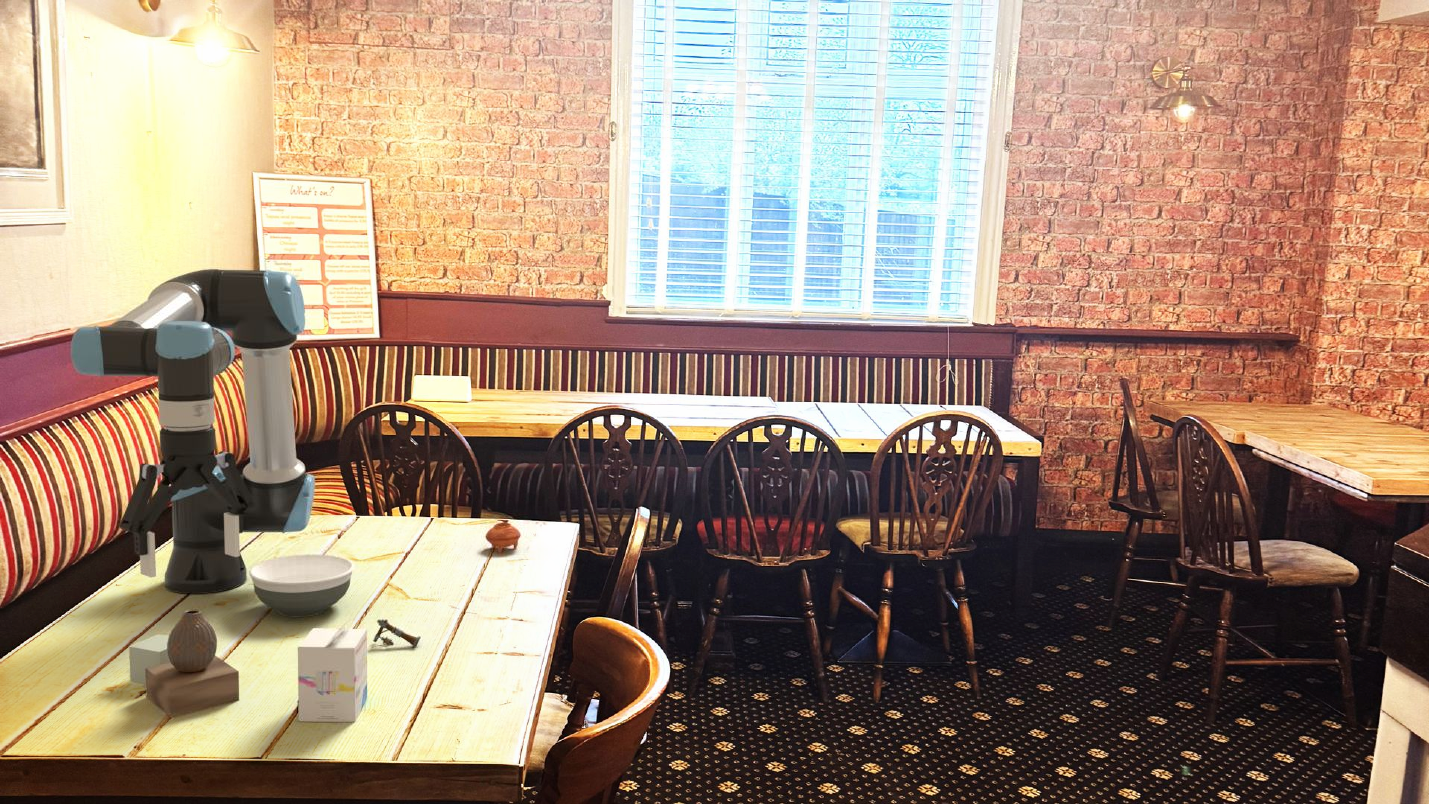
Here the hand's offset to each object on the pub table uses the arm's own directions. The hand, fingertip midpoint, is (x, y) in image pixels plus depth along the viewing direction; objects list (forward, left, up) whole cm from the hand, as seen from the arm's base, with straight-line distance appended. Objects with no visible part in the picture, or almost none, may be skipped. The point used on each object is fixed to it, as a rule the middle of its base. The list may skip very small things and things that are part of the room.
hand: (191, 565), depth 172 cm
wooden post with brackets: (+6, +34, -21) cm, 41 cm away
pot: (-23, +91, -21) cm, 96 cm away
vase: (0, 0, -16) cm, 16 cm away
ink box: (+20, +10, -21) cm, 31 cm away
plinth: (0, -1, -21) cm, 21 cm away
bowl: (-22, +36, -21) cm, 47 cm away
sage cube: (-11, +1, -21) cm, 24 cm away
